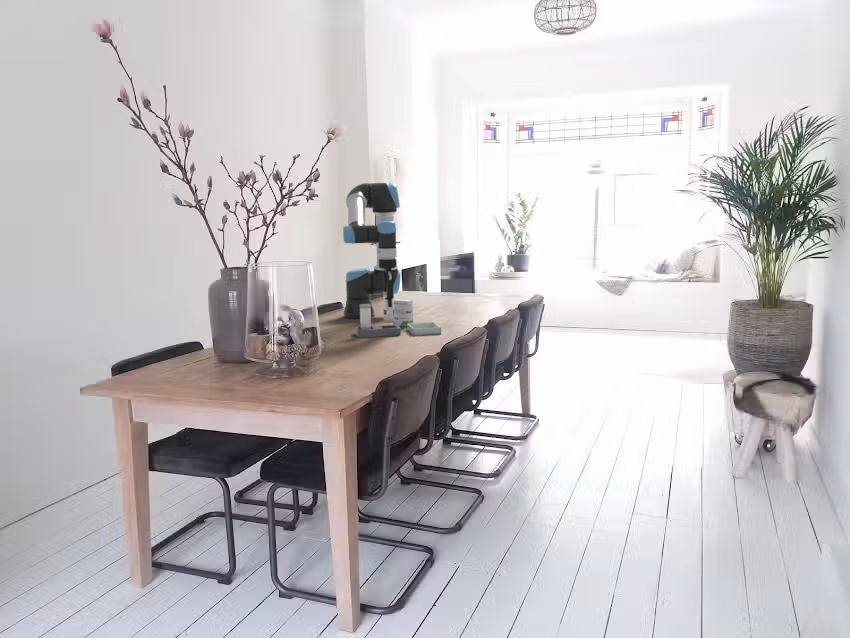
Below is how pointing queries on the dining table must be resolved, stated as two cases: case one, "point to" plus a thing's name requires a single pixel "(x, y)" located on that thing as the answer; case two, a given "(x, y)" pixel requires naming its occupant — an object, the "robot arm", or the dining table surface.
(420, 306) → the dining table surface
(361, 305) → the fuse
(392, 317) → the fuse
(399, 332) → the board
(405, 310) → the ink box
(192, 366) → the dining table surface
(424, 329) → the parts tray
